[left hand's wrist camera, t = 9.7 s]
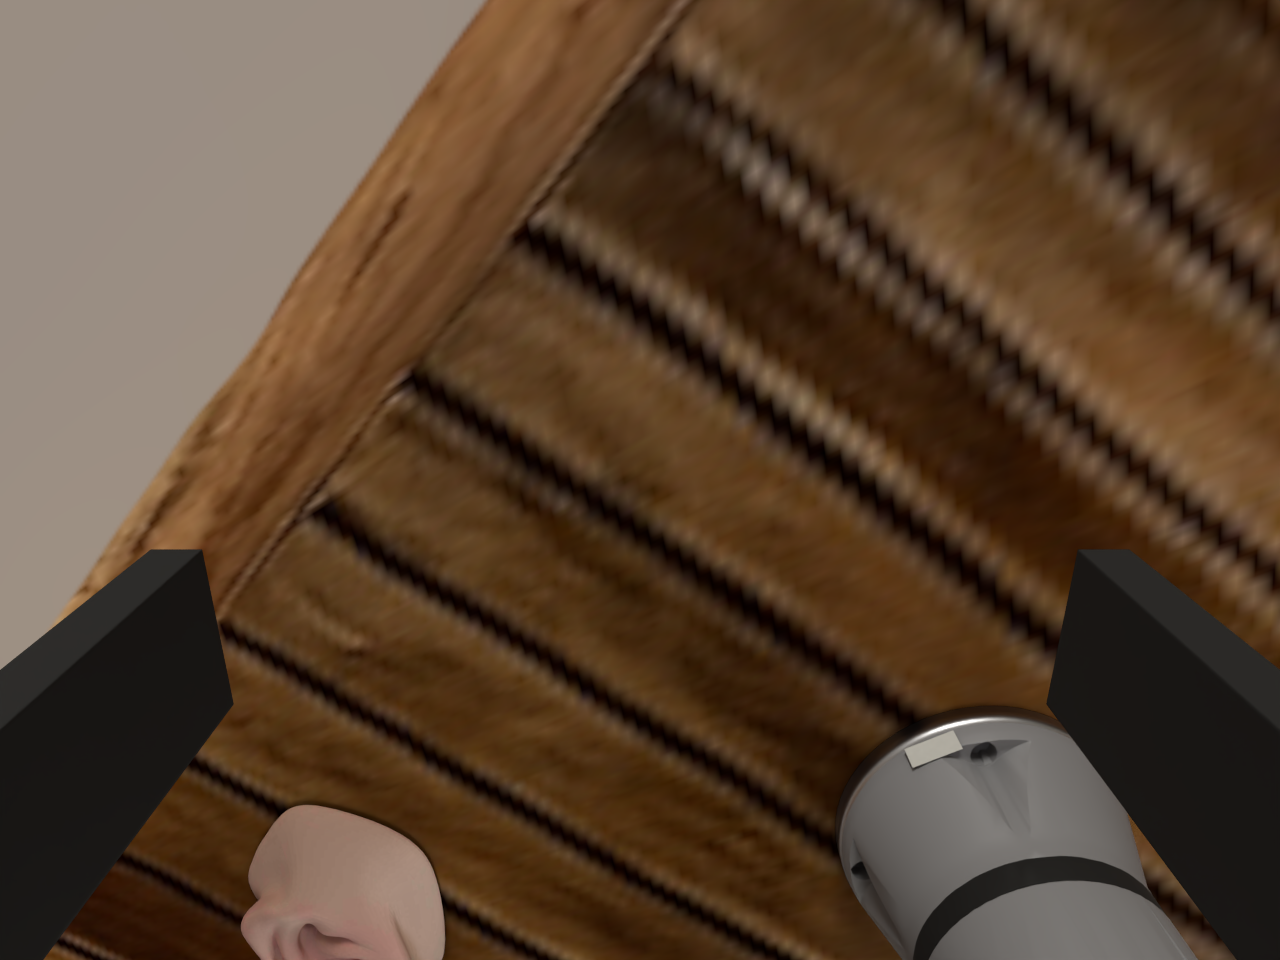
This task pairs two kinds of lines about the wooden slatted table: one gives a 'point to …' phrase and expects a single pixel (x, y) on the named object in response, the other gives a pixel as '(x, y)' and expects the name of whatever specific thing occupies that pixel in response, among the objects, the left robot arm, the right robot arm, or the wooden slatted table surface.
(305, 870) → the anatomical model
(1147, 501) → the wooden slatted table surface
